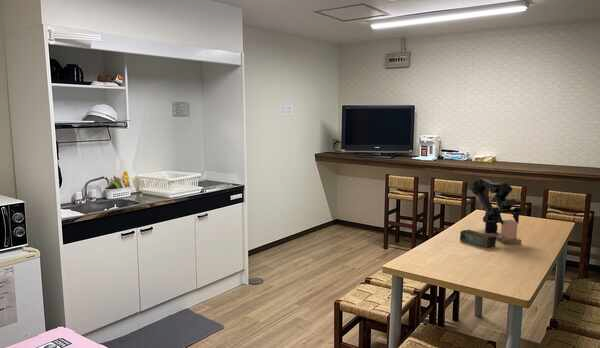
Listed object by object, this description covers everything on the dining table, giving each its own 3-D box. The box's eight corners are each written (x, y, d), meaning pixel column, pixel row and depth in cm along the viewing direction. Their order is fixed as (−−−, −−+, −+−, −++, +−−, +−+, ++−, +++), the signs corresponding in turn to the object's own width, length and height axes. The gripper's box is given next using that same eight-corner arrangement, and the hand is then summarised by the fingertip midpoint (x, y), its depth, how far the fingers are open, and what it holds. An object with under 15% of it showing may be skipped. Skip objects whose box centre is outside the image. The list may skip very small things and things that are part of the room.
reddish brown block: (500, 236, 266) (502, 220, 264) (509, 235, 266) (511, 219, 265) (506, 239, 260) (508, 222, 258) (516, 238, 261) (517, 222, 259)
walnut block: (495, 240, 268) (496, 235, 268) (511, 239, 269) (512, 235, 268) (504, 245, 258) (504, 240, 258) (521, 244, 259) (521, 239, 259)
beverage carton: (467, 238, 271) (468, 228, 270) (496, 246, 255) (497, 235, 254) (459, 240, 267) (459, 229, 266) (487, 249, 251) (488, 237, 250)
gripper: (492, 194, 263) (500, 217, 254) (522, 193, 264) (532, 216, 255) (485, 204, 272) (492, 226, 263) (514, 204, 273) (523, 226, 264)
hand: (510, 223), depth 261 cm, fingers open, 9 cm apart
